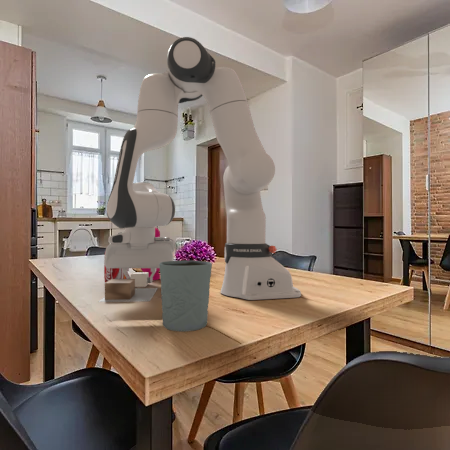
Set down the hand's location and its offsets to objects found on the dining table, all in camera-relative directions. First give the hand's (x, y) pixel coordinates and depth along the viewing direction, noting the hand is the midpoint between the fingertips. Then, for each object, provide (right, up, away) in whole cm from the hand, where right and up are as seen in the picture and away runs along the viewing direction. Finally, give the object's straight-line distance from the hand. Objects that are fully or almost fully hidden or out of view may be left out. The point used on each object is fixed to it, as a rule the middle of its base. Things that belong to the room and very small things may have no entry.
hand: (139, 283), depth 98 cm
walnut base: (-1, -1, -16) cm, 16 cm away
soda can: (-10, -2, +7) cm, 12 cm away
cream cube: (0, -2, 0) cm, 2 cm away
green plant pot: (+18, -2, -35) cm, 39 cm away
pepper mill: (0, -2, +17) cm, 17 cm away
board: (+1, -2, -13) cm, 13 cm away
